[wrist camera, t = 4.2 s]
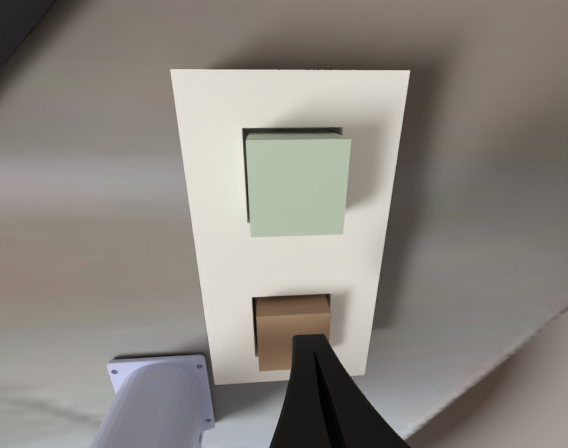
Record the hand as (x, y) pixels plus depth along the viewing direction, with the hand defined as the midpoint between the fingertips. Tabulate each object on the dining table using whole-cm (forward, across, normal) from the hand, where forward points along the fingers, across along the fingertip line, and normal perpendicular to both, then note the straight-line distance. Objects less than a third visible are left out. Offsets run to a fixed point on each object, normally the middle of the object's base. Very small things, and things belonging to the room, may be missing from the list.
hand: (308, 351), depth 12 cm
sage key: (+7, 0, -6) cm, 9 cm away
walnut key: (+8, 0, +4) cm, 8 cm away
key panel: (+10, 0, -1) cm, 10 cm away
